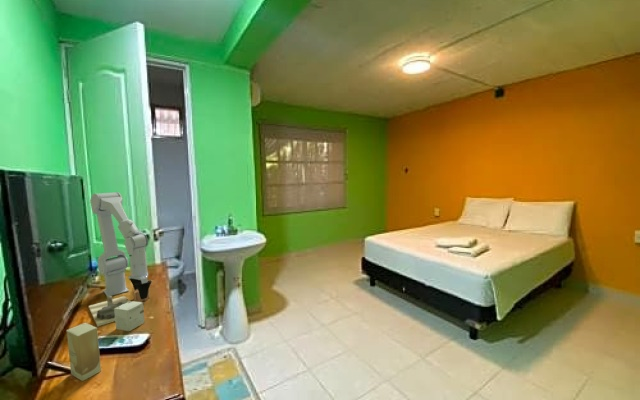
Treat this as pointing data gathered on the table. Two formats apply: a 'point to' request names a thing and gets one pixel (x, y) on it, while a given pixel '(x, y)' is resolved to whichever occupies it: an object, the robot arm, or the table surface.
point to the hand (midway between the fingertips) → (141, 295)
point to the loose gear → (137, 296)
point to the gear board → (104, 304)
